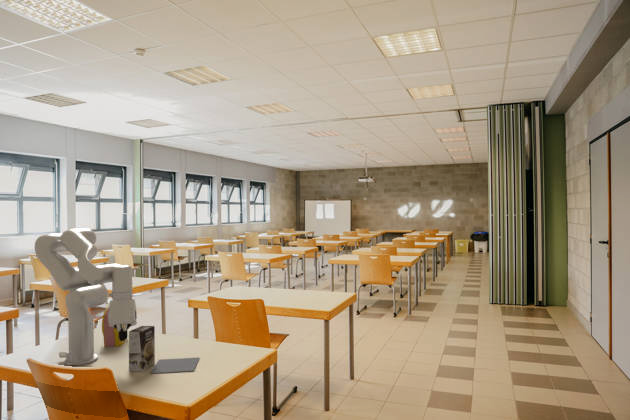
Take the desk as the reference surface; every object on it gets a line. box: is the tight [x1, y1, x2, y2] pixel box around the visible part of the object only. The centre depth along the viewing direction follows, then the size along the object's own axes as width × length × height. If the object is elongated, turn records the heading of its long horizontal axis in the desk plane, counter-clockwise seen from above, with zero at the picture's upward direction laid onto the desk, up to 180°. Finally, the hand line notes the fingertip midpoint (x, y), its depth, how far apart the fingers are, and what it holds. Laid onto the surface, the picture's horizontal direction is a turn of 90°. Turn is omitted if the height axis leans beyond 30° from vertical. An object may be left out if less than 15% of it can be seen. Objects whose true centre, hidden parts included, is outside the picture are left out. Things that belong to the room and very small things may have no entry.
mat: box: [149, 357, 200, 375], centre depth 174 cm, size 17×15×1 cm
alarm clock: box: [101, 306, 128, 348], centre depth 206 cm, size 15×8×18 cm, turn 10°
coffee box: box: [128, 325, 156, 373], centre depth 173 cm, size 9×6×16 cm
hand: (123, 339), depth 172 cm, fingers closed
